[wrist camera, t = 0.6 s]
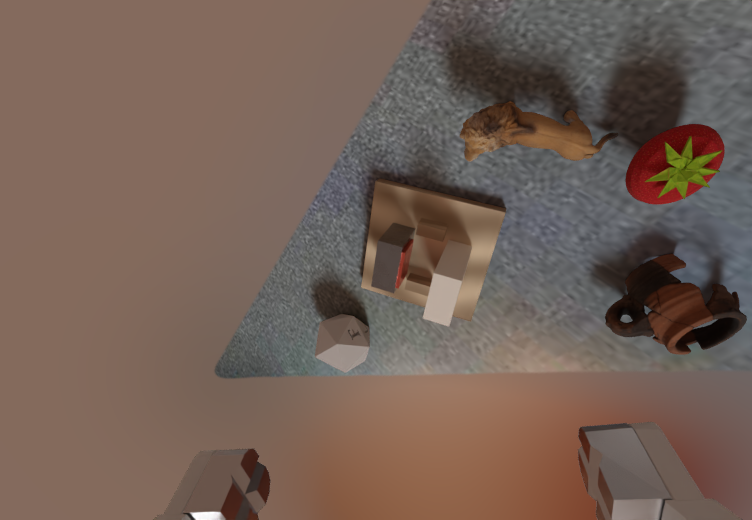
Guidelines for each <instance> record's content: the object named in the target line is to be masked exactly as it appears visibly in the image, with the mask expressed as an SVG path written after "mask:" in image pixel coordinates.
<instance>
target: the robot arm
mask: <svg viewBox="0 0 752 520" xmlns="http://www.w3.org/2000/svg"><path fill="white" fill-rule="evenodd" d="M578 437H579V440H580V442H581V445H582V446H581V447H580V448H579V449H578V460H579V466H580V471H581V475H582V478H583V481H584V484H585V487H586V490H587V493H588V494H589V495H590V496H591V497H592V498H593V499H594V500H596V501H597V504H596V517H597V519H598V520H742V519H741V518H739V517H738V516H737V515H735V514H734V513H733V512H731V511H730V510H728V509H727V508H725V507H724V506H723V505H721V504H720V503H719V502H717V501H716V500H714V499H705V498H704V496H703V495H702V493H701V492H700V490H699V488H698V487H697V485H696V484H695V482H694V481H693V479H692V478H691V476H690V474H689V473H688V471H687V469H686V468H685V467H684V465H683V463H682V462H681V460H680V458H679V457H678V455H677V454H676V452H675V450H674V449H673V447H672V446H671V444H670V443H669V441H668V439H667V438H666V436H665V435H664V433H663V432H662V430H661V428H660V427H659V426H658V425H656V424H655V423H654V422H646V423H635V424H627V423H623V424H611V425H600V426H586V427H580V428H579V435H578ZM258 458H259V455H258V453H257V452H256V450H254V449H235V450H211V451H200V452H199V453H198V454H197V455H196V456H195V457H194V459H193V461H192V463H191V464H190V466H189V468H188V470H187V472H186V474H185V476H184V477H183V479H182V481H181V483H180V485H179V487H178V488H177V490H176V492H175V494H174V496H173V498H172V500H171V502H170V503H169V505H168V507H167V509H166V511H165V512H164V514H163V515H158V516H157V517H155V519H153V520H259V518H258V512H259V511H260V510H261V509H262V508H263V507H264V506H265V505H266V502H267V499H268V496H269V492H270V476H269V472H268V470H267V468H266V467H265V466H264V465H262V464H260V463H259V462H257V461H258Z"/></svg>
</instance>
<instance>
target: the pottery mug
mask: <svg viewBox="0 0 752 520" xmlns="http://www.w3.org/2000/svg"><path fill="white" fill-rule="evenodd" d="M685 267H686V263H685V262H684V261H682V260H680V259H679V258H678V257H676V256H675V255H673V254H667V255H663V256H659V257H657V258H654V259H652V260H650V261H648V262H646V263H644V264H642V265H640V266H639V267H638V268H636V269H635V270H634V271H632V272H631V274H630V275H629V276H628V278H627V279H626V281H625V284H626V286H627V291H628V295H624V296H623V298H622V299H621V300H619V301H617V302H615V303H614V304H613V305H612V306H611V307H610V308H609V309H608V311H607V313H606V316H605V319H606V325H607V326H608V327H609V328H610V329H611V330H612V331H613V332H614V333H615V334H617V335H620V336H623V337H635V336H642V335H643V336H647V337H651V336H653V334H654V335H655V337H653V339H654V340H655V341H656V342H658V343H660V344H664V345H665V346H666V348H667V350H668V351H669V352H670V353H673V354H688V353H690V352H691V350H690V349H689V347H688V346H687V345H690V344H693V343H696V342H698V343H699V344H700V346H701V348H702V349H703V350H704V349H709V348H711V347H713V346H716V345H718V344H720V343H722V342H724V341H725V340H727V339H729V338H730V337H732V336H733V335H734V334H735V333H737V332H738V331H739V330H740V329H742V327H743V326H744V325H745V323H746V321H747V318H746V315H744V314H743V313H742V312H740V310H739V298H738V295H737V292H733V293H732V294H731V293H729V292H728V291H727V289H726V287H725V286H723V285H720V284H713V285H712V289H713V291H714V292H713V294H712V297H711V299H710V300H709V301H708V303H707V304H706V305H705V302H704V299H703V296H702V294H701V291H700V289H699V287H697V286H696V285H694V284H692V283H681V281H680V280H679V279H677V278H676V277H674V276H673V275H672V274H670V272H672V271H674V270H677V269H681V268H685ZM644 306H647V307H648V308H650V309H651V310H652V311H650V312H649V313H648V315H647V314H645V309H644ZM622 315H629V316H630V317H631V319H632V320H633V321H632V322H629V323H624V322H621V321H620V319H621V317H622ZM714 319H718V320H717V321H716V322H714V323H712V324H711V325H708V326H705V327H701V328H697V329H693V328H694V327H698V326H700V325H702V324H704V323H706V322H709V321H712V320H714ZM692 329H693V330H692Z"/></svg>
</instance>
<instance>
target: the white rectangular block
mask: <svg viewBox="0 0 752 520" xmlns="http://www.w3.org/2000/svg"><path fill="white" fill-rule="evenodd" d="M472 247H473V246H470V245H466V244H463V243H459V242H455V241H451V240H448V242H447V245H446V247H445V249H444V251H443V253H442V256H441V258H440V260H439V262H438V265H437V267H436V269H435V271H434V274H433V278H432V282H431V286H430V290H429V295H428V299H427V303H426V307H425V311H424V315H423V319H427V320H430V321H433V322H436V323H439V324H442V325H445V326H449V325H450V322H451V318H452V315H453V312H454V308H455V305H456V302H457V298H458V295H459V292H460V288H461V285H462V282H463V278H464V275H465V271H466V268H467V264H468V261H469V257H470V254H471V250H472Z"/></svg>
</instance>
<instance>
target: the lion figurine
mask: <svg viewBox="0 0 752 520" xmlns="http://www.w3.org/2000/svg"><path fill="white" fill-rule="evenodd" d="M564 121H566V122H567V123H570V125H569V126H565V125H562V124H560V123H558V122H557V121H555V120H553V119H551V118H548V117H545V116H543V115H540V114H537V113H532V112H522V111H521V109H519V108H518V107H516V105H515V104H514V103H513V102H511V101H510V102H507V103H503V104H500V103H499V104H494V105H493V106H488V107H487V108H485V109H481V110H480V111H479V112H476V113H474V114H473V116H471V117H470V118H469V119H467V120H466V122H465V123H463V129H462V131H461V134H460V138H462V139H465V146H466V149H465V151H464V154H465V158H466V160H468V161H473V160H474V159H476V158H477V157H478V155H479V154H481V153H483V152H485V151H488V152H493V151H495V150H496V149H499V148H500V147H504V146H505V145H513V144H516V143H519V144H521V145H524V146H528V147H533V148H544V149H552V150H555V151H557V152H558V153H559V154H560V155H561V156H562V157H564V158H566V159H570V160H574V161H575V160H582V159H583V158H587V159H588V158H591V157H592V156H593V154H594V153H597V152H599V151H600V150H601V148H602V146H603V144H604V143H605V142H607V141H608V140H611V139H613V138H615V137H617V136H618V133H609V134H607V135H606V136H604V137H603V138H602V139H601V140H600V141H599V142H598V143H597V144H596V145H595V146H593V145H592V136H591V132H590V130H589V129H588V127H587V126H586V125H584V123H583V122H582V121H581V120H580V119H579V117H578V115H577V114H576V113H575V112H574V111H572V110H570V111H567V112H566V113H565V115H564Z"/></svg>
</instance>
